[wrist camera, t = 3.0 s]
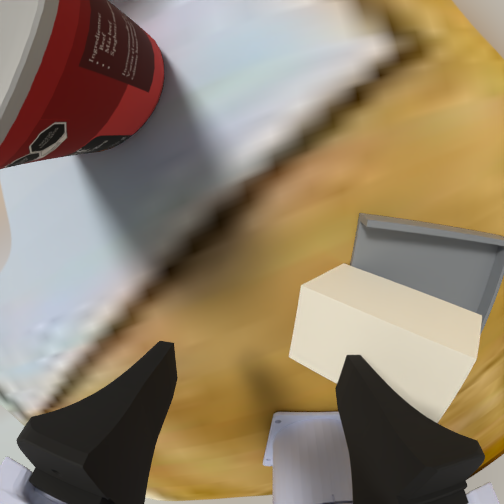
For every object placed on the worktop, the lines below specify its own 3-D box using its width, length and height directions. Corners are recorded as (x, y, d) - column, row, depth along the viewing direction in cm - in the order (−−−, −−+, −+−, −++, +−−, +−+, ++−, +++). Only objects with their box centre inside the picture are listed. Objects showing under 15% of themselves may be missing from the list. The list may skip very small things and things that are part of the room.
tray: (457, 355, 20) (465, 365, 19) (326, 361, 20) (329, 375, 19) (501, 235, 16) (513, 242, 15) (359, 212, 16) (367, 219, 15)
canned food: (44, 128, 15) (-91, 145, 5) (96, 19, 12) (-21, -38, 2) (129, 172, 16) (-18, 224, 6) (194, 50, 13) (100, -55, 3)
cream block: (329, 326, 19) (450, 380, 13) (288, 356, 16) (432, 430, 10) (343, 263, 17) (482, 315, 12) (301, 285, 14) (476, 359, 9)
